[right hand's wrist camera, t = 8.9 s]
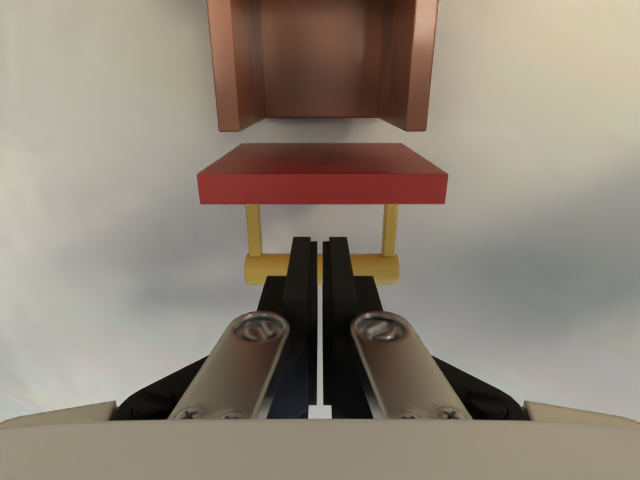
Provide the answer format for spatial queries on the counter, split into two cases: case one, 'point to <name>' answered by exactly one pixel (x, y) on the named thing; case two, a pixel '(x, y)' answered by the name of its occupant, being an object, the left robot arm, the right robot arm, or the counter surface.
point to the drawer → (322, 112)
